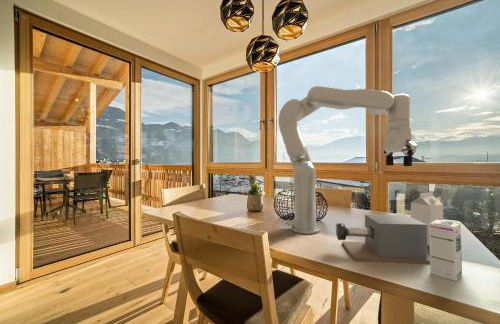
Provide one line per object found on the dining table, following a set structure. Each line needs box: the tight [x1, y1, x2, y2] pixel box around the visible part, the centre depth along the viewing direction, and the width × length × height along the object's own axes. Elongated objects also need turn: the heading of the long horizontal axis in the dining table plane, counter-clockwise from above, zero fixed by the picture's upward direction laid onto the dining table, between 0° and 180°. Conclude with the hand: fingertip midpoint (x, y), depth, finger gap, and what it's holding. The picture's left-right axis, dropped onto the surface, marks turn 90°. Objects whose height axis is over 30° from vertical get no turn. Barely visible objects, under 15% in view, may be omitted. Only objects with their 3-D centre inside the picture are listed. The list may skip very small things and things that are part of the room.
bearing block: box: [341, 213, 430, 265], centre depth 77 cm, size 23×14×12 cm, turn 82°
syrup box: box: [428, 219, 463, 282], centre depth 62 cm, size 6×6×14 cm
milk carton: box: [410, 192, 444, 247], centre depth 85 cm, size 7×7×19 cm
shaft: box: [335, 222, 374, 241], centre depth 78 cm, size 18×6×6 cm, turn 82°
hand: (398, 165), depth 94 cm, fingers open, 9 cm apart
